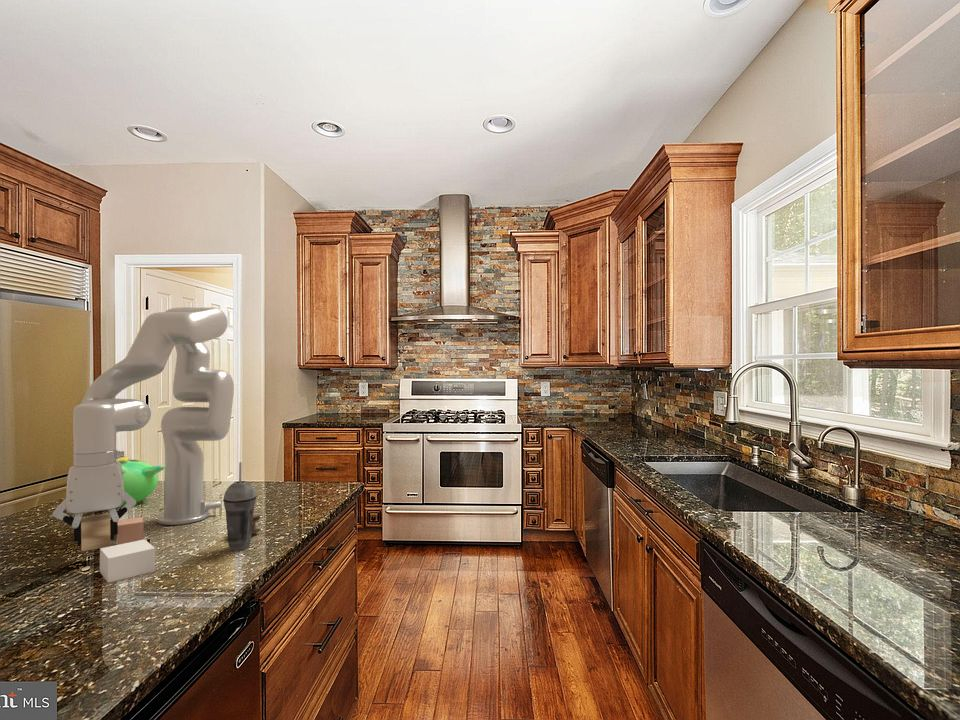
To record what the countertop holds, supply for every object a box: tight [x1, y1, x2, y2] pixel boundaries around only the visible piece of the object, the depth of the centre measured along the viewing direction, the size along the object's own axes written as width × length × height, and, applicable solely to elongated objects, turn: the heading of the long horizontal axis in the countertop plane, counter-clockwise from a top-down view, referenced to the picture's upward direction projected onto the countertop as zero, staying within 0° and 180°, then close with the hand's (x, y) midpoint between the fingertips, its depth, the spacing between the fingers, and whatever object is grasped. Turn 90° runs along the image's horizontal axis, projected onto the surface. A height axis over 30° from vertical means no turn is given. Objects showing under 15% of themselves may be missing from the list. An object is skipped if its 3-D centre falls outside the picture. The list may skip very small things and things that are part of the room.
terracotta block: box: [116, 516, 145, 545], centre depth 121 cm, size 5×5×6 cm
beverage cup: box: [222, 461, 258, 551], centre depth 121 cm, size 7×7×20 cm
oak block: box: [80, 512, 111, 552], centre depth 111 cm, size 5×5×6 cm
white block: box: [99, 538, 156, 583], centre depth 106 cm, size 8×8×5 cm
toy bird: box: [116, 455, 165, 507], centre depth 158 cm, size 18×17×15 cm
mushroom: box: [251, 512, 261, 536], centre depth 129 cm, size 8×8×6 cm
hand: (96, 540), depth 111 cm, fingers closed on oak block, 5 cm apart
